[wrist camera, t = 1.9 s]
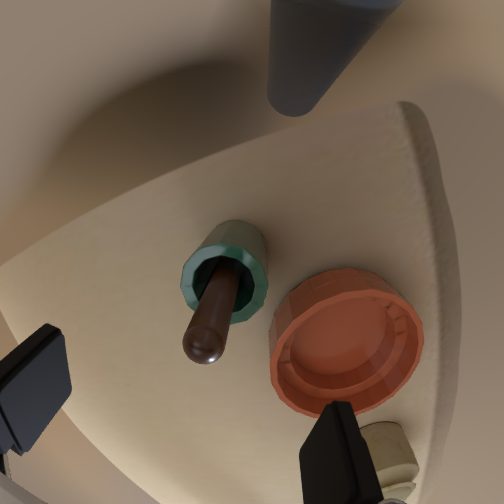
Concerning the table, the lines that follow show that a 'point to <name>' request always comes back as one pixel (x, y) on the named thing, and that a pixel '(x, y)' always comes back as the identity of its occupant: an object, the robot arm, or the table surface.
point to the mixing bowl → (343, 342)
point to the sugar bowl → (391, 459)
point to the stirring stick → (213, 314)
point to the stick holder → (234, 246)
